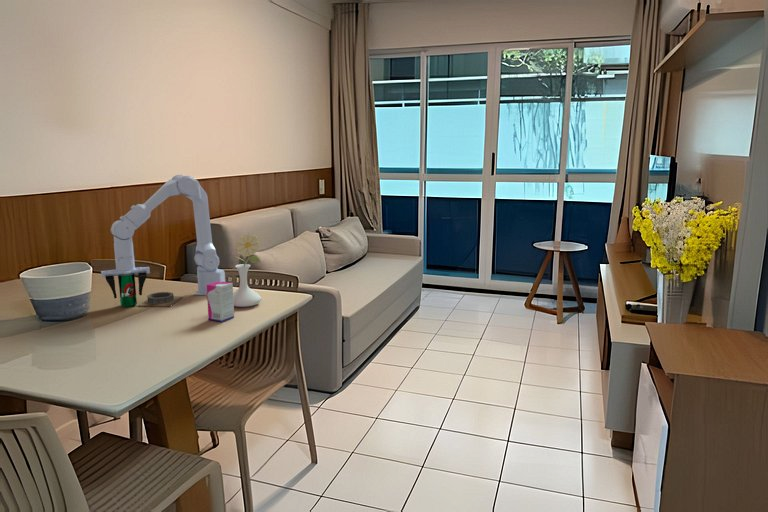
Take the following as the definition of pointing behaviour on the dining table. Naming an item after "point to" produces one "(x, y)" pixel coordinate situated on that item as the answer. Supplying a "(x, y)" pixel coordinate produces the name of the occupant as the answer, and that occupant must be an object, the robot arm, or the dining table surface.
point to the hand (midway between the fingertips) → (128, 295)
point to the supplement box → (220, 301)
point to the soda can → (127, 290)
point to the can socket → (160, 299)
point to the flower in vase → (244, 293)
